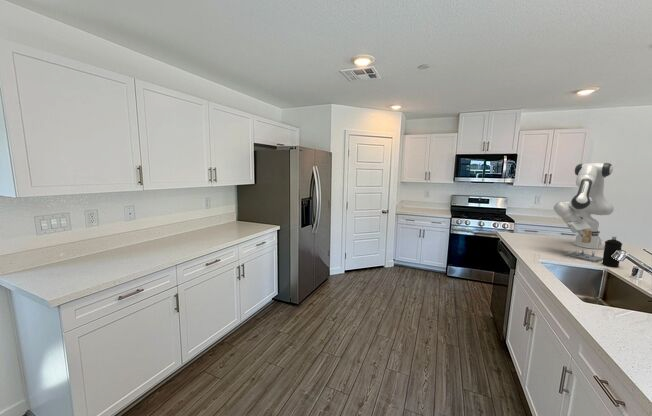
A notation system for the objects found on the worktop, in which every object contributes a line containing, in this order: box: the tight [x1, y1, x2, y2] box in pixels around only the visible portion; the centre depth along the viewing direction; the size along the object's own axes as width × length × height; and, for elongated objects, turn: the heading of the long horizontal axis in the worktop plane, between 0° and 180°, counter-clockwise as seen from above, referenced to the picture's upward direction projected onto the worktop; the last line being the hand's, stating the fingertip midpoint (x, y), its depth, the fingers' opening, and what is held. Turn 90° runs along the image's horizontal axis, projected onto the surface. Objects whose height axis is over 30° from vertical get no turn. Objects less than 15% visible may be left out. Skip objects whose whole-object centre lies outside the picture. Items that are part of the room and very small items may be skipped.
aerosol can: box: [601, 236, 623, 268], centre depth 180 cm, size 8×8×20 cm
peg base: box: [565, 248, 603, 263], centre depth 197 cm, size 14×17×5 cm
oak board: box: [582, 230, 592, 243], centre depth 196 cm, size 5×3×9 cm, turn 114°
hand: (588, 235), depth 195 cm, fingers closed on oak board, 5 cm apart
